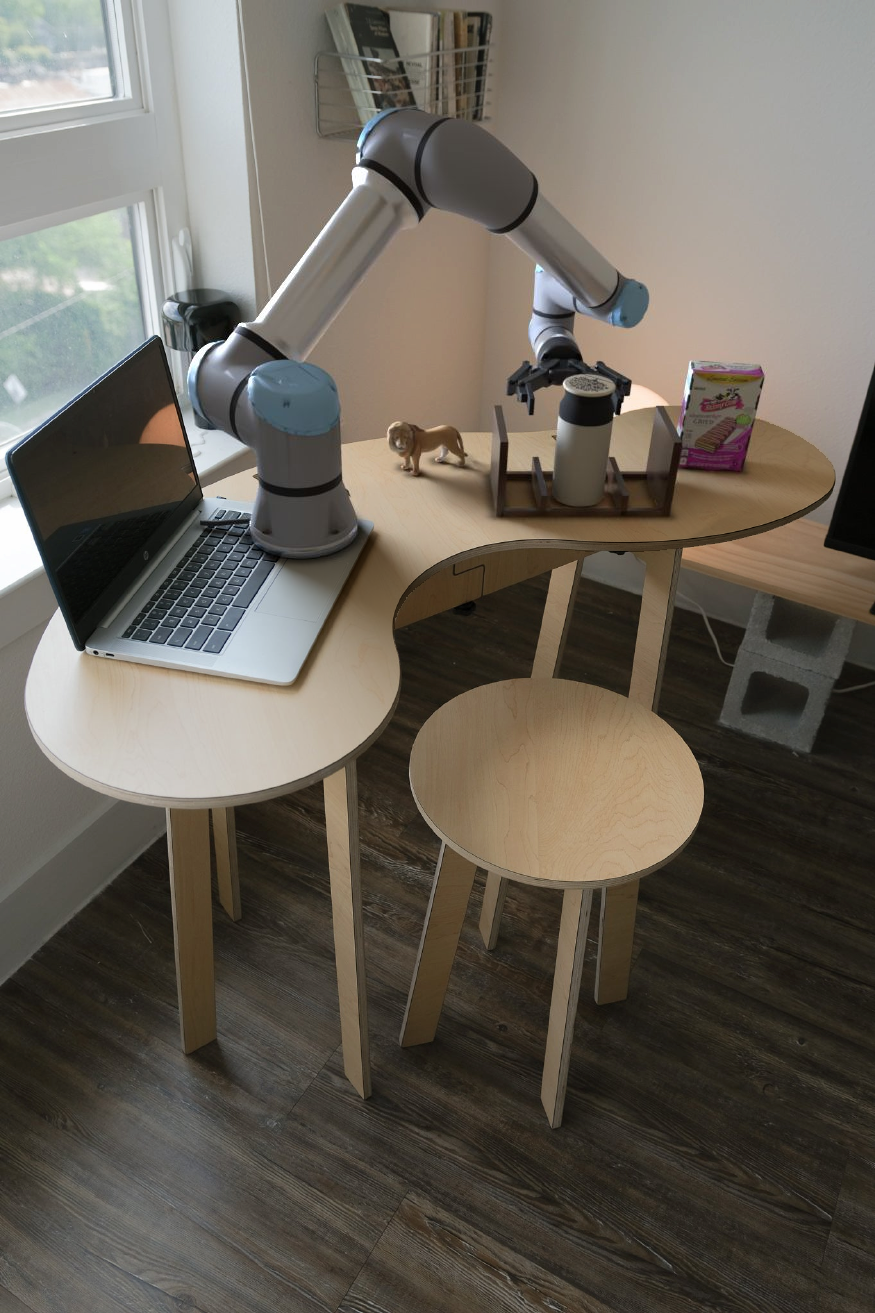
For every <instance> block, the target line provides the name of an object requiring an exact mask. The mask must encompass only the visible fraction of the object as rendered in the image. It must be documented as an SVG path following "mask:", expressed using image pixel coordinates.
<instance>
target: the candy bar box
mask: <svg viewBox="0 0 875 1313" xmlns="http://www.w3.org/2000/svg"><path fill="white" fill-rule="evenodd" d="M765 376H766V375H765V373H764V370H763V368H762V365H761V364H754V363H737V362H724V361H723V362H722V361H709V360H689V363H688V369H687V374H686V380H685V385H684V390H683V396H682V401H681V407H680V412H679V417H678V419H679V420H678V422H677V428H676V431H677V433H678V435H679V437H680V439H681V440H682V442H683V443H682V449H681V454H680V460H679V466H678V468H682V469H683V468H685V469H699V470H700V469H701V470H715V471H716V470H717V471H730V472H743V471H744V467H745V463H746V460H747V458H746V457H747V455H748V450H749V446H750V441H751V437H752V434H753V428H754V426H755V425H754V424H755V421H756V416H757V411H758V409H759V408H758V407H759V403H760V399H761V394H762V391H763V388H764V382H765Z"/></svg>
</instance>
